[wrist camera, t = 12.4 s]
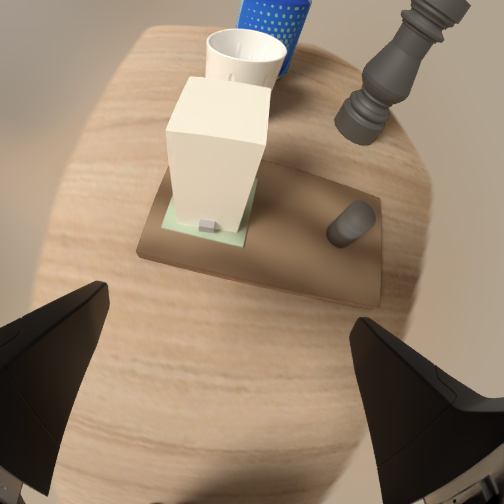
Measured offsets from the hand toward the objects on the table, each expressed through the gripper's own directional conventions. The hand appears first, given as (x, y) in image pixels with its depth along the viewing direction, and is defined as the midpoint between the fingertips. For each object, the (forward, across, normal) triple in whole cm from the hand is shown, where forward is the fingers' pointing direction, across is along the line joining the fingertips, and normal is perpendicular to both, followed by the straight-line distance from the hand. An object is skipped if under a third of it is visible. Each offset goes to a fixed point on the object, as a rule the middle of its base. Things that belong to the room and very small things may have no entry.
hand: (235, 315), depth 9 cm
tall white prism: (+16, +2, +1) cm, 16 cm away
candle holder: (+29, -14, -10) cm, 34 cm away
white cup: (+27, +2, -8) cm, 28 cm away
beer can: (+35, 0, -16) cm, 38 cm away
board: (+17, -4, +2) cm, 18 cm away
